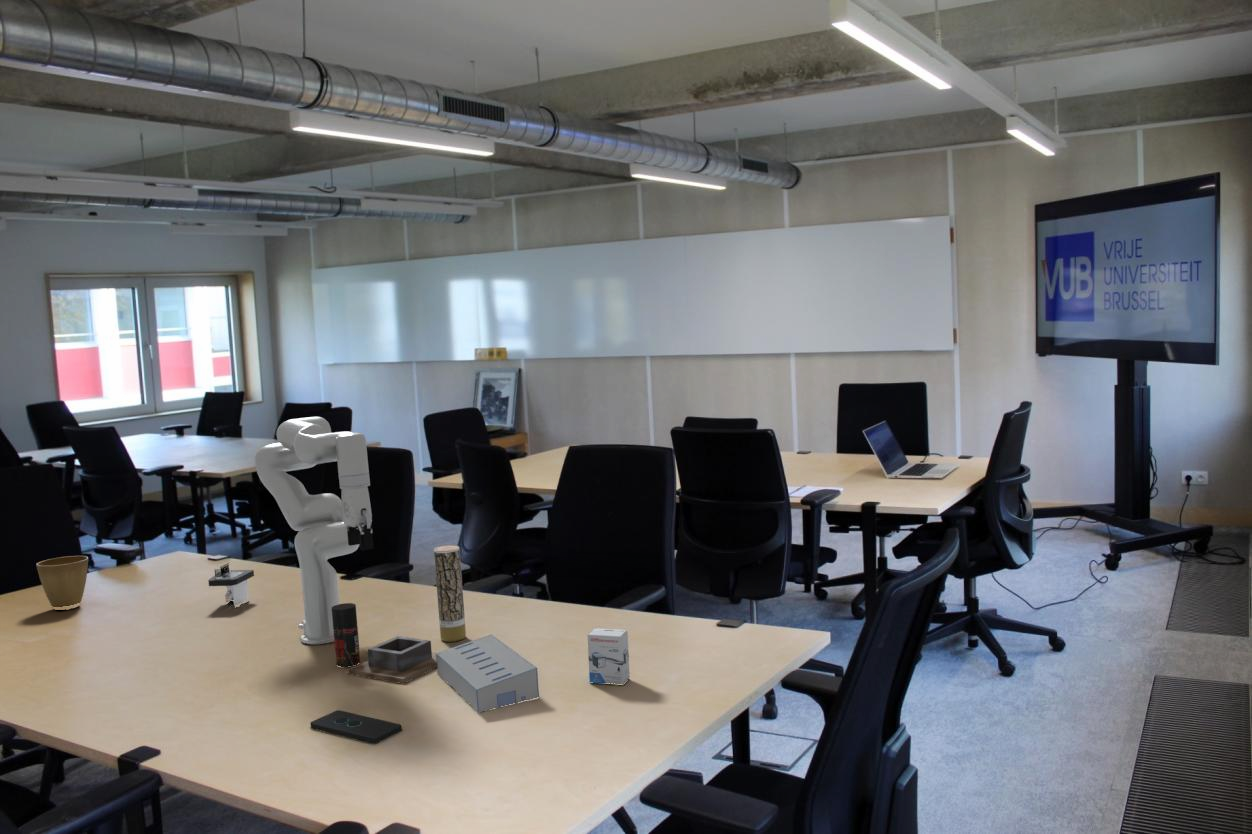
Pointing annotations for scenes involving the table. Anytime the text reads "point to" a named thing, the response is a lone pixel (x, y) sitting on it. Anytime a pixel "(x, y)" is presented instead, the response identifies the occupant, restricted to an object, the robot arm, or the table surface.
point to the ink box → (608, 656)
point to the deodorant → (346, 634)
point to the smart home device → (356, 726)
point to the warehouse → (488, 673)
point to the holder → (397, 660)
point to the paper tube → (450, 593)
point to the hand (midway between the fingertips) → (361, 547)
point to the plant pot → (63, 579)
